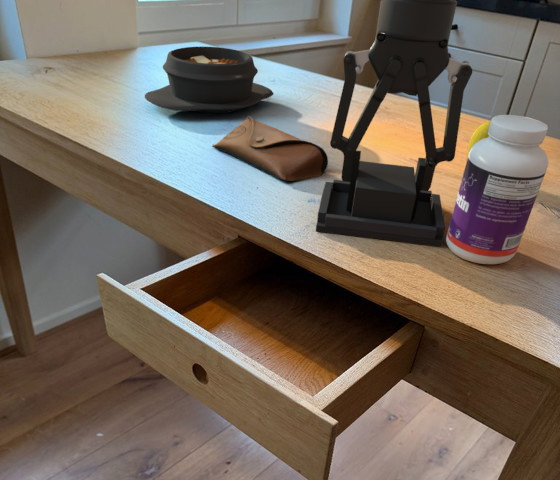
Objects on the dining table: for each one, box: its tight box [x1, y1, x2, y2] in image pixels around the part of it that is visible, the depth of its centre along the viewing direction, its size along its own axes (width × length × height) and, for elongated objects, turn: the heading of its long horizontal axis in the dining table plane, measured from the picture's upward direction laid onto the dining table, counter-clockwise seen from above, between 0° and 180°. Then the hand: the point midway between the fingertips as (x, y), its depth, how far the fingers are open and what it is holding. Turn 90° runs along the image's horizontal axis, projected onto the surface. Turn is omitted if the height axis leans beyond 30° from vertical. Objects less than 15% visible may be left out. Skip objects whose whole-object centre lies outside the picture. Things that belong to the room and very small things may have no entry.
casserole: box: [144, 46, 274, 114], centre depth 102 cm, size 25×19×8 cm
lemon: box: [466, 120, 491, 159], centre depth 83 cm, size 6×6×8 cm
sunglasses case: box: [211, 115, 329, 182], centre depth 84 cm, size 18×7×7 cm
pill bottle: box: [445, 114, 549, 265], centre depth 61 cm, size 8×8×14 cm
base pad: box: [315, 179, 446, 247], centre depth 71 cm, size 15×12×2 cm
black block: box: [351, 160, 416, 224], centre depth 69 cm, size 7×9×4 cm
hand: (380, 209), depth 71 cm, fingers closed on black block, 7 cm apart
